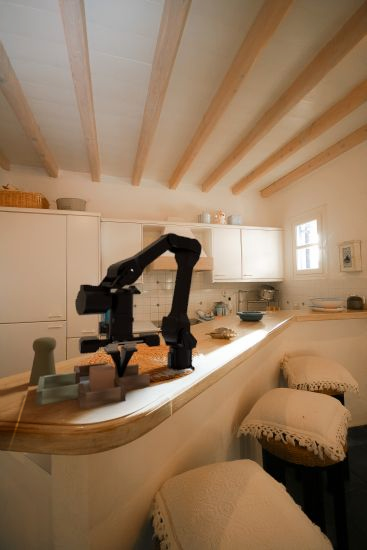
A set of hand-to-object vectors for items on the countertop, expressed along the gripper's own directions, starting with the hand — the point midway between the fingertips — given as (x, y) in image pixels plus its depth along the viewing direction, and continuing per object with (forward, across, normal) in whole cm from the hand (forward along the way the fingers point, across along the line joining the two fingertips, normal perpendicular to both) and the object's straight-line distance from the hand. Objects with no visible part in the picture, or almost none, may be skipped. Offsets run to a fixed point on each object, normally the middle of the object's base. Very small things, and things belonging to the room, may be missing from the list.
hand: (120, 378), depth 60 cm
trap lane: (+2, +5, 0) cm, 5 cm away
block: (+1, +4, 0) cm, 4 cm away
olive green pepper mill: (+2, +17, -10) cm, 20 cm away
